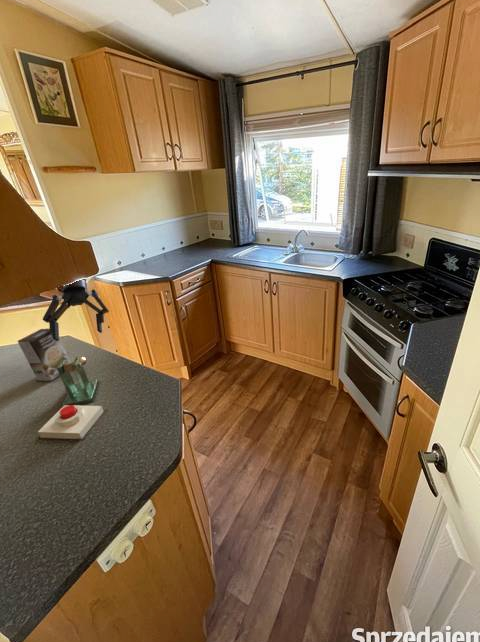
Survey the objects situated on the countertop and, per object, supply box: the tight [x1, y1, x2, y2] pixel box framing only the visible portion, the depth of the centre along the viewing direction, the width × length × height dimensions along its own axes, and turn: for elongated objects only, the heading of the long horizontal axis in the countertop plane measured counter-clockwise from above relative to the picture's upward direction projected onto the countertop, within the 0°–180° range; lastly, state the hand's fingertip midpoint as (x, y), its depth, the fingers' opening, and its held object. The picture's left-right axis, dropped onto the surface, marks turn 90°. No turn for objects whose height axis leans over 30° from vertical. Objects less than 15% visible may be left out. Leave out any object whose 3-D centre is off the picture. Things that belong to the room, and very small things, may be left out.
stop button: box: [60, 405, 77, 419], centre depth 81 cm, size 4×4×2 cm
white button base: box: [37, 404, 105, 440], centre depth 82 cm, size 12×10×4 cm
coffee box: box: [16, 328, 71, 382], centre depth 102 cm, size 9×6×16 cm
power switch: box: [57, 356, 99, 407], centre depth 91 cm, size 10×8×13 cm
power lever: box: [64, 356, 88, 373], centre depth 94 cm, size 13×3×3 cm, turn 19°
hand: (78, 335), depth 101 cm, fingers open, 13 cm apart
